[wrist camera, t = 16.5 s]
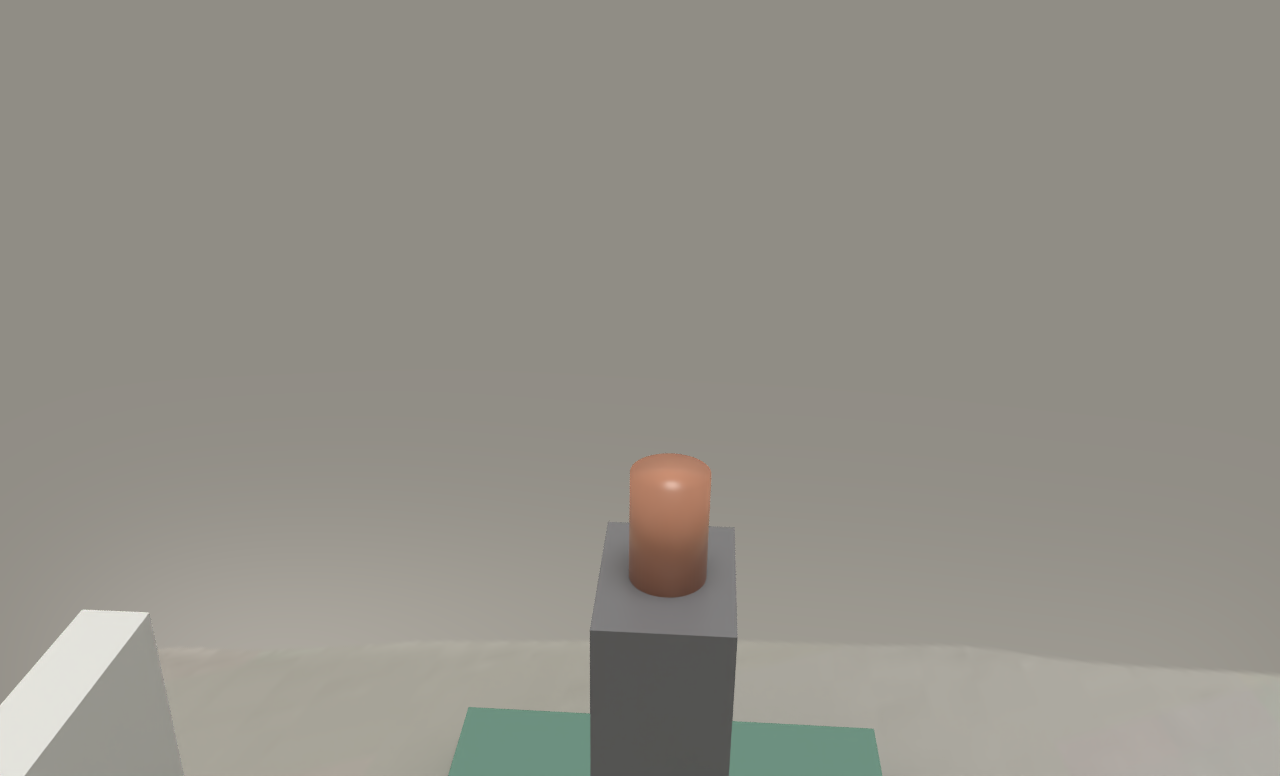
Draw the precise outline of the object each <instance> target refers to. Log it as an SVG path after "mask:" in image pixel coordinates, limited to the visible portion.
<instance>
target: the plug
mask: <svg viewBox="0 0 1280 776" xmlns="http://www.w3.org/2000/svg"><path fill="white" fill-rule="evenodd" d="M710 491H711V471H710V469H709V467H708V466H707V465H706V464H705V463H703V462H702V461H700V460H698V459H696V458H694V457H690V456H686V455H682V454H656V455H651V456H647V457H644V458H642V459H640V460H638V461H637V462H635V463H634V464H633V465H632V467H631V469H630V518H629V519H630V520H629V523H622V522H608V526H607V531H606V538H605V543H604V549H603V556H602V562H601V568H600V573H599V579H598V585H597V591H596V597H595V603H594V609H593V615H592V621H591V627H590V776H729V766H730V750H731V734H732V717H733V701H734V685H735V668H736V652H737V606H736V569H735V533H734V531H735V530H734V527H711V526H709V511H710Z"/></svg>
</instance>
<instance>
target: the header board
mask: <svg viewBox="0 0 1280 776" xmlns="http://www.w3.org/2000/svg"><path fill="white" fill-rule="evenodd" d="M448 776H590V714H587V713H569V712H550V711H531V710H513V709H494V708H475V707H469V708H468V711H467V714H466V718H465V721H464V724H463V728H462V731H461V734H460V738H459V741H458V745H457V748H456V751H455V755H454V758H453V761H452V765H451V768H450V772H449V775H448ZM729 776H882V771H881V766H880V760H879V755H878V749H877V744H876V738H875V733H874V729H868V728H849V727H830V726H812V725H793V724H774V723H756V722H737V721H732V734H731V750H730V766H729Z"/></svg>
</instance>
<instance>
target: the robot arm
mask: <svg viewBox="0 0 1280 776" xmlns="http://www.w3.org/2000/svg"><path fill="white" fill-rule="evenodd" d="M0 776H184V772H183V768H182V763H181V758H180V754H179V749H178V744H177V740H176V735H175V730H174V726H173V721H172V716H171V711H170V707H169V702H168V697H167V693H166V688H165V683H164V679H163V674H162V669H161V665H160V660H159V655H158V651H157V646H156V641H155V637H154V632H153V627H152V623H151V618H150V614H149V613H147V612H123V611H101V610H100V611H99V610H82V611H81V612H80V613H79V614H78V615H77V617H76V618H75V619H74V620H73V621H72V622H71V624H70V625H69V626H68V627H67V628H66V629H65V630H64V632H63V633H62V634H61V635H60V636H59V637H58V639H57V640H56V641H55V642H54V643H53V644H52V646H51V647H50V648H49V649H48V650H47V651H46V653H45V654H44V655H43V656H42V657H41V658H40V660H39V661H38V662H37V663H36V664H35V666H34V667H33V668H32V669H31V670H30V671H29V672H28V674H27V675H26V676H25V677H24V678H23V680H22V681H21V682H20V683H19V684H18V685H17V686H16V688H15V689H14V690H13V691H12V692H11V693H10V695H9V696H8V697H7V698H6V699H5V701H4V702H3V703H2V704H1V705H0Z"/></svg>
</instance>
